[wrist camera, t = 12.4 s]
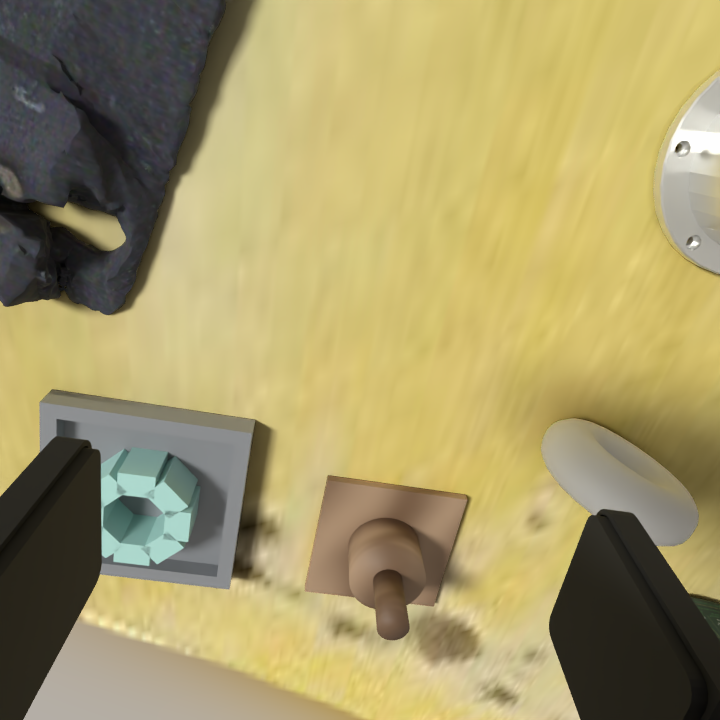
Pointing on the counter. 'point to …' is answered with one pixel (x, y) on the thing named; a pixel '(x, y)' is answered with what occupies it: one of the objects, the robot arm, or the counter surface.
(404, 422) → the counter surface
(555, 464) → the donut
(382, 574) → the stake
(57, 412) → the tray
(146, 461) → the ring
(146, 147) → the dark slate chunk
